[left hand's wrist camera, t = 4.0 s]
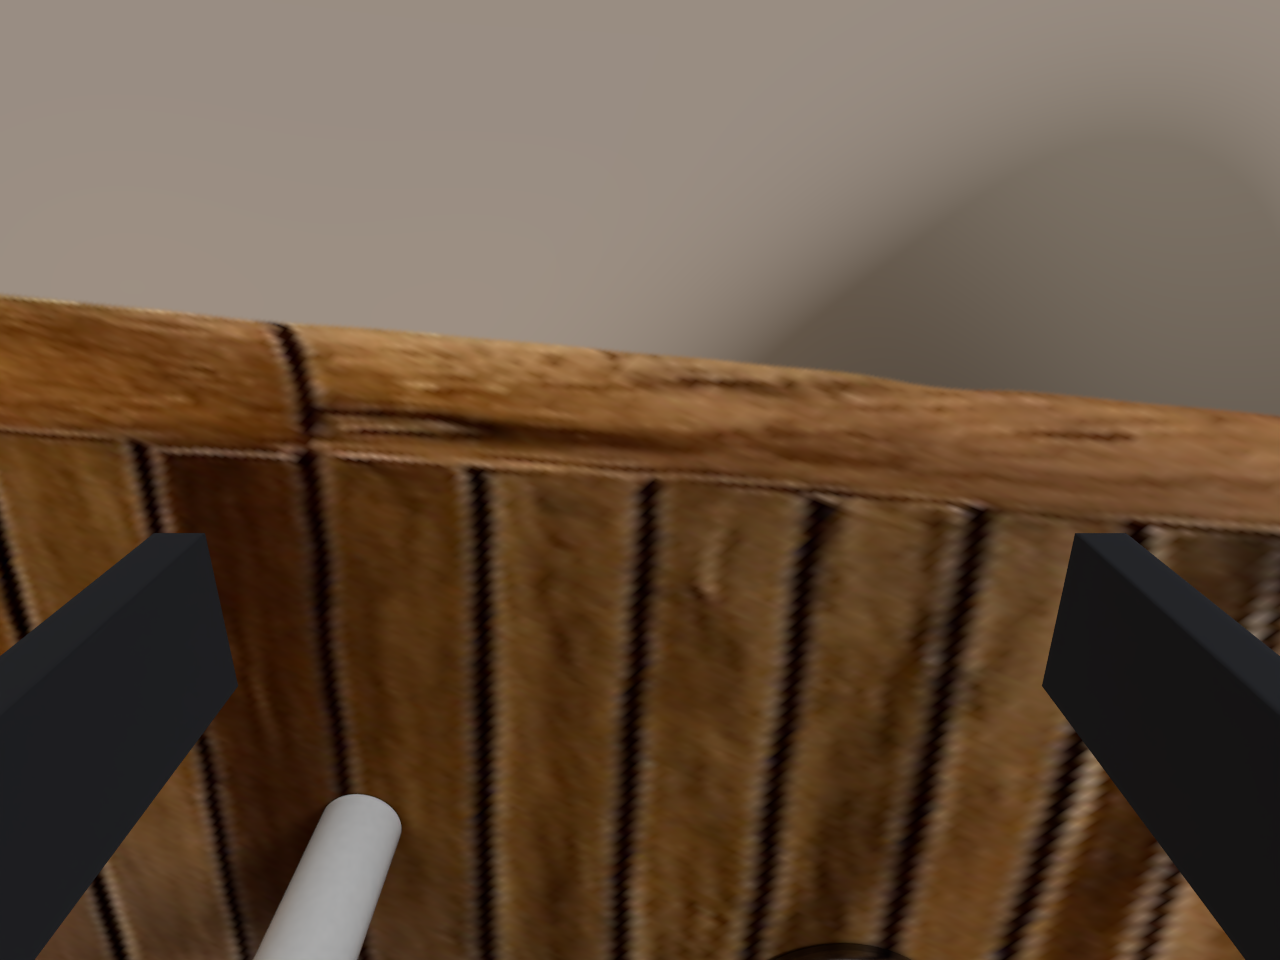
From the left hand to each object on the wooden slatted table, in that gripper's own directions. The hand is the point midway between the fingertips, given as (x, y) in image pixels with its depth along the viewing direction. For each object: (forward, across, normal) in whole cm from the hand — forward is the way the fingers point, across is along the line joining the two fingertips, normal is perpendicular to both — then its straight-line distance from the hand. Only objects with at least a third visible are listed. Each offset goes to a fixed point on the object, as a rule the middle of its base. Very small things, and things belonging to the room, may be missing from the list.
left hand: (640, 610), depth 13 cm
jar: (+28, +17, +32) cm, 46 cm away
